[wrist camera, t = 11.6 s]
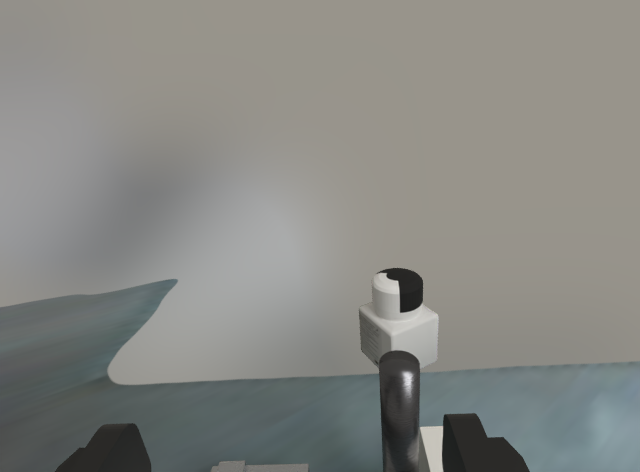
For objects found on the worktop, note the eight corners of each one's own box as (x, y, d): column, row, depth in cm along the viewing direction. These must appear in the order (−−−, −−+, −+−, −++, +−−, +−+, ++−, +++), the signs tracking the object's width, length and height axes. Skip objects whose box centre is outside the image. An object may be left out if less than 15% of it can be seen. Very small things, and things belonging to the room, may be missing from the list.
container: (402, 333, 58) (401, 257, 53) (438, 361, 51) (441, 278, 46) (360, 351, 55) (355, 272, 50) (392, 384, 48) (390, 297, 43)
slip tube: (287, 543, 32) (257, 387, 25) (292, 502, 35) (265, 353, 28) (476, 541, 30) (493, 377, 24) (463, 499, 34) (475, 343, 27)
